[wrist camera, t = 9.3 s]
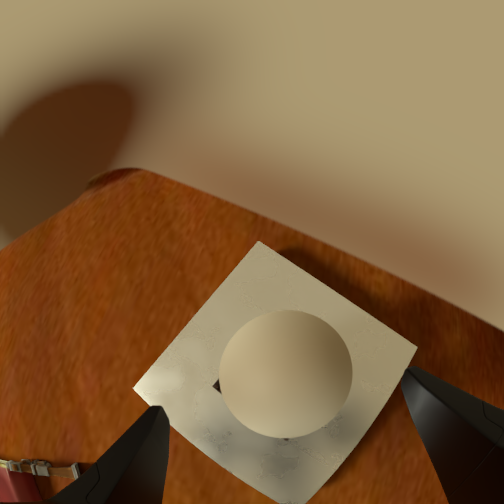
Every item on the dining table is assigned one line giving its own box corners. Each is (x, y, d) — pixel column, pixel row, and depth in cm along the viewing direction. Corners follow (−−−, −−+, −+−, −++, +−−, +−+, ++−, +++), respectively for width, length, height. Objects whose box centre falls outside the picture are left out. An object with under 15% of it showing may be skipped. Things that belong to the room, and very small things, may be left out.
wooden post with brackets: (18, 452, 15) (0, 456, 12) (84, 457, 18) (74, 465, 15) (22, 468, 14) (5, 474, 11) (88, 473, 18) (79, 484, 14)
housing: (400, 353, 19) (417, 347, 17) (293, 497, 15) (296, 512, 12) (260, 258, 24) (258, 240, 21) (149, 389, 20) (132, 388, 17)
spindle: (314, 389, 19) (374, 394, 7) (266, 415, 18) (256, 459, 7) (289, 344, 21) (311, 288, 9) (241, 369, 20) (197, 345, 8)
